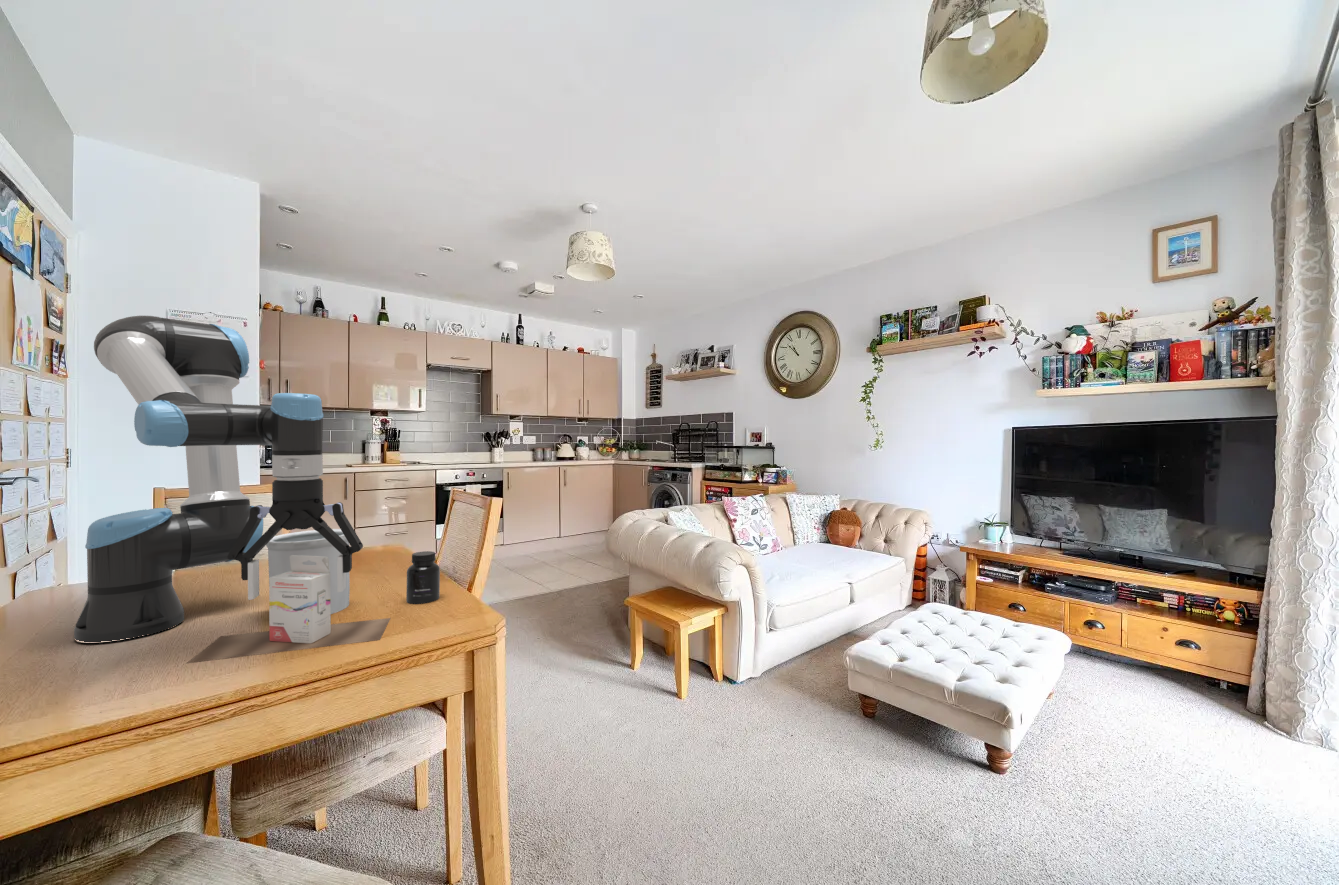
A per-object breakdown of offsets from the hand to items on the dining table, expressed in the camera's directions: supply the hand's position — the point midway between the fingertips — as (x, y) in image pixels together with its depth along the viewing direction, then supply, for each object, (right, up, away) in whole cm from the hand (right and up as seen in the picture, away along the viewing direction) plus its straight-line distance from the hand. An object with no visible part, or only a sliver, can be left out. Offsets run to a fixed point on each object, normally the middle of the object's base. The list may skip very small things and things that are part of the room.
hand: (298, 593), depth 95 cm
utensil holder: (-9, -10, +16) cm, 21 cm away
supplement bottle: (+12, -10, +23) cm, 27 cm away
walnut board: (0, -10, 0) cm, 10 cm away
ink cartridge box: (0, -8, 0) cm, 8 cm away
